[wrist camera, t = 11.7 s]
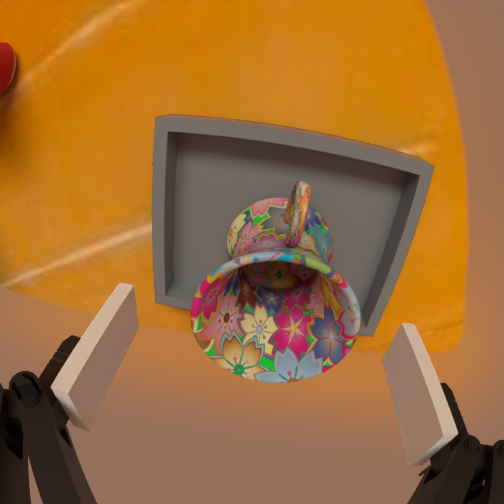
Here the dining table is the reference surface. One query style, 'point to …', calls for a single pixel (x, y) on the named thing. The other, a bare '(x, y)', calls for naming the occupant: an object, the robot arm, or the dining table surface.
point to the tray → (280, 186)
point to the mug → (277, 296)
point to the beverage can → (6, 66)
